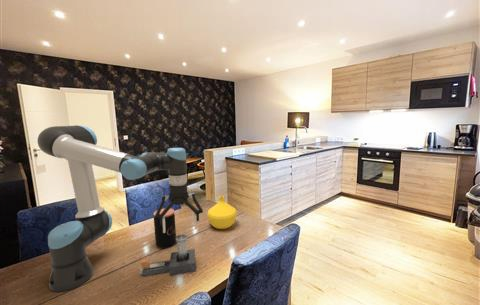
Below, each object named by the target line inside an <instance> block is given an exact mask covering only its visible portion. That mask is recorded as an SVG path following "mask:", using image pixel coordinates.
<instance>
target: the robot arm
mask: <svg viewBox="0 0 480 305" xmlns="http://www.w3.org/2000/svg"><path fill="white" fill-rule="evenodd" d="M97 144H98V139H97V135H96V134H95V132H94V131H93V130H92V129H91V128H90V127H88V126H84V125H61V126H60V125H59V126H58V125H56V126H55V125H54V126H50V127H47V128H45V129H43V130H42V131H41V132H40V133H39V134H38V136H37V145H38V148H39V150H41V152H44V153H45V154H46V155H48V156H51V157H54V158H57V159H65V160H66V161H67V163H68V167H69V168H68V169H69V173H70V178H71V183H72V188H73V192H74V197H75V202H76V207H77V211H78V212H76V214H75V216H74V217H75V220H71V221H67V222H64V223H62V224H59V225H57V226H56V227H54V228H53V229H52V230H51V231H49V233H48V235H47V245H48V250H49V255H50V261H51V267H52V269H51V270H50V275H49V280H48V286H49V290H50V291H52V292H56V293H58V292H65V291H70V290H73V289H75V288H77V287H79V286H82V285H83V284H85V283H86V282H87V281H89V280H90V279H91V277H92V276H93V274H94V266H93V265H92V262H91V261H90V260H89V258H88V256H87V250H86V249H87V247H88V246H89V245H91V244H92V243H94V242H95V241H97V240H98V239H100V238H102V237H103V236H105V235H106V234H107V233H108V232H109V231H110V230H111V228H112V226H113V217H112V215H111V213H109V212H108V211H107V210H105V207H103V206H101V205H100V199H99V194H98V189H97V185H96V178H95V174H94V168H93V166H96V167H99V168H103V169H107V170H110V171H113V172H117V173H119V174H121V175H122V177H123V178H125V179H127V180H129V181H132V180H133V181H134V180H138V179H141V178H143V177H144V176H146V175H149V174H152V173H153V172H155V171H168V184H169V185H168V188H169V195H165V194H162V197H161V202H160V204H159V206H158V208H157V210H156V211H157V212H156V215H155V217H156V218H160V225H163V233H165V230H166V229H165V216H164V215H165V214H166V213H167V212H168V210H169V209H170V208H171V209H172V207H173V206H174V205H175V206H178V205H179V206H180V205H181V206H183V205H186V206H187V207H188V208H189V209H190V210H191V211H192V212H193V213H194V229H195V230H197V228H198V225H197V222H199V221H200V214H203V212H204V210H203V208H202V206H201V205H200V202H199V200H198V199H197V197H196V195H195V192H191V193H189V192H188V172H187V156H186V155H187V154H186V153H187V152H186V149H185V148H184V147H170V148H168V149H167V151H166V152H152V151H151V152H150V151H149V152H143V153H141V155H140V156H135V155H132V154H128V153H126V152H122V151H118V150H114V149H112V148H108V147H105V146H100V145H97ZM188 198H190V199H192V201H193V203H194V205H195V206H194V205H193V204H192V203H191V202H190V201H189V199H188ZM168 200H169V201H170V202H169V203H168V204H167V205H166V207H164V205H165V202H167V201H168ZM163 207H164V208H165V209H164V208H163ZM196 207H197V208H196ZM161 209H164V211H163V212H162V213H161V214H159V213H160V211H161Z"/></svg>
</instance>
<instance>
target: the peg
mask: <svg viewBox="0 0 480 305" xmlns="http://www.w3.org/2000/svg"><path fill="white" fill-rule="evenodd" d="M187 240H188V235H187V234H184V233H183V234H182V233H180V234H178V235H176V244H177V245H176V246H177V252H178V262H181V261H187V250H188V249H187V247H188V245H187Z"/></svg>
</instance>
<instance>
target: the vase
mask: <svg viewBox="0 0 480 305" xmlns="http://www.w3.org/2000/svg"><path fill="white" fill-rule="evenodd" d="M218 200H219V201H218V202H217V203H216V204H215V205H213V206H212V207H210V208H209V209H208V211H207V219H208V222H209V223H210V225H211V226H213V227H214V228H216V229H219V230H226V229H229V228H230V227H232V226H233V225H234V224H235V221H236V219H237V217H238V212H237V209H236V208H235V207H234V206H232V205H230V204H229V203H228V202H226V201H225V196H224V195H219V199H218Z"/></svg>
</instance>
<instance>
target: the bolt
mask: <svg viewBox="0 0 480 305" xmlns="http://www.w3.org/2000/svg"><path fill="white" fill-rule="evenodd" d="M161 262H162V263H157V262H155V263H156V264H151V263H150V258H149V257H148V258H143V259H141V261H140V269H139V270H140V275H143V274H142V271H143V270H149V269H155V268H161V267H166V266H165V262H163V261H161Z"/></svg>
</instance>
